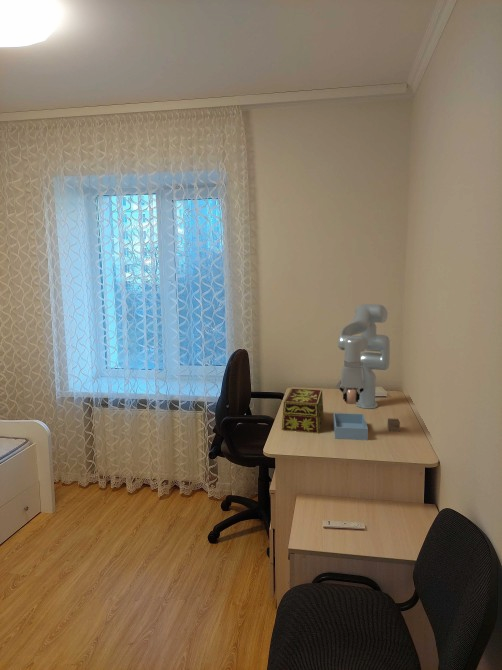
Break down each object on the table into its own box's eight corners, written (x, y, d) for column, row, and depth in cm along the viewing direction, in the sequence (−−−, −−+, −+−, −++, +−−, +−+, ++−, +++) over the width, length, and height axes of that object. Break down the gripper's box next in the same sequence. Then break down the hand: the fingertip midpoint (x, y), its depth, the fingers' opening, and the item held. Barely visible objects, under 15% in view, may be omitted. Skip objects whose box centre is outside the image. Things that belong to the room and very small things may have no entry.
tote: (333, 423, 239) (333, 412, 238) (362, 424, 237) (363, 414, 236) (334, 438, 218) (335, 427, 217) (367, 440, 216) (367, 428, 215)
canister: (345, 401, 223) (345, 387, 222) (355, 401, 222) (356, 387, 221) (346, 404, 218) (346, 390, 217) (356, 404, 217) (357, 390, 216)
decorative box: (290, 413, 256) (290, 387, 253) (323, 415, 251) (324, 389, 249) (281, 430, 229) (281, 402, 227) (318, 433, 225) (319, 404, 222)
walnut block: (387, 427, 232) (387, 418, 231) (397, 428, 231) (397, 418, 230) (389, 431, 227) (389, 421, 226) (399, 431, 226) (399, 422, 226)
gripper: (369, 363, 220) (368, 399, 223) (333, 362, 222) (333, 398, 225) (371, 366, 212) (370, 404, 215) (334, 365, 215) (333, 402, 218)
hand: (351, 400), depth 220 cm, fingers closed on canister, 5 cm apart
